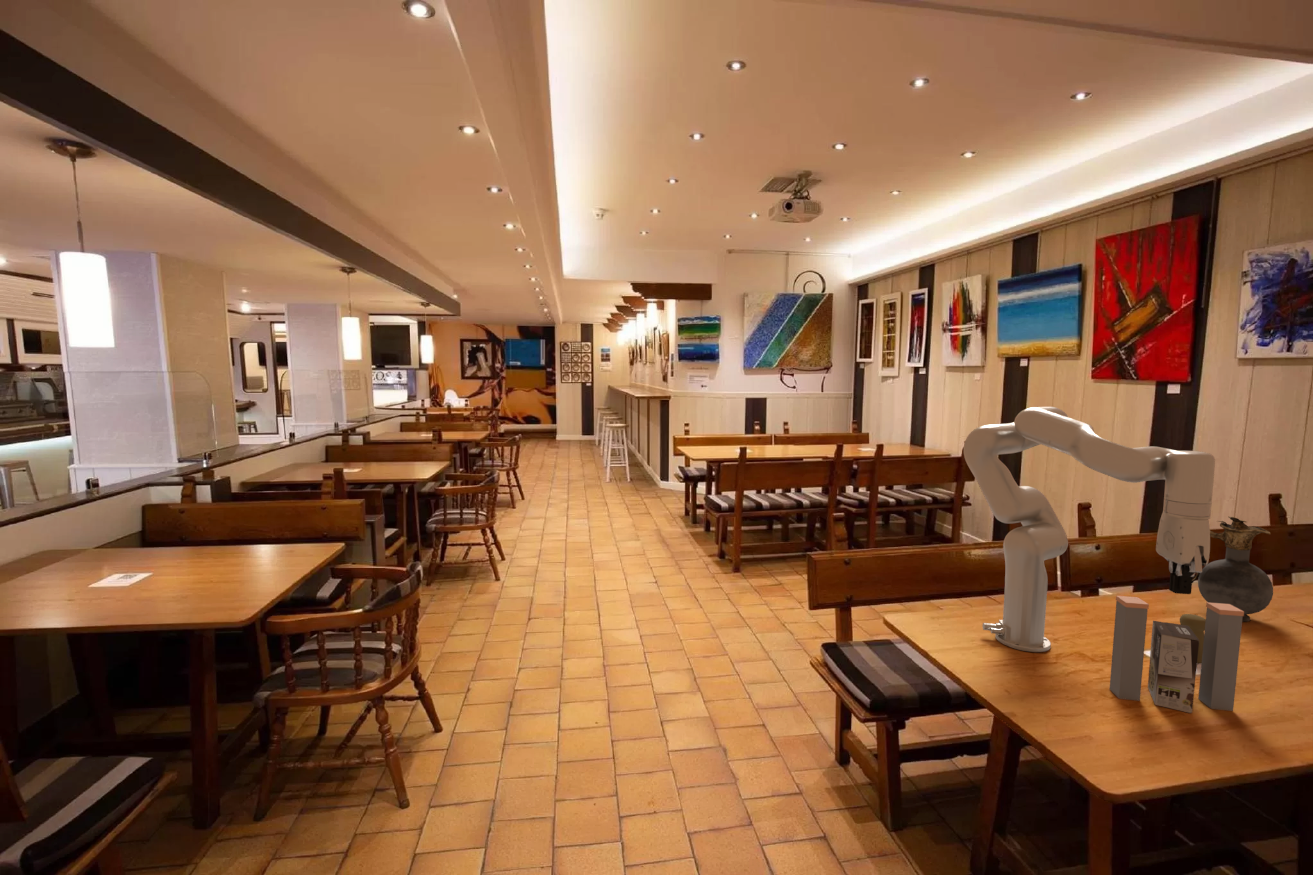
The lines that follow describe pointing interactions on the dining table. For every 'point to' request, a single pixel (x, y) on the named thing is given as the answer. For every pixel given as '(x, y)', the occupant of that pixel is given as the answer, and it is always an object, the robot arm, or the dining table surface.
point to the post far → (1220, 655)
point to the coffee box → (1173, 665)
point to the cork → (1195, 629)
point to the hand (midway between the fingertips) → (1179, 592)
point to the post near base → (1128, 647)
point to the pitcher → (1236, 572)
